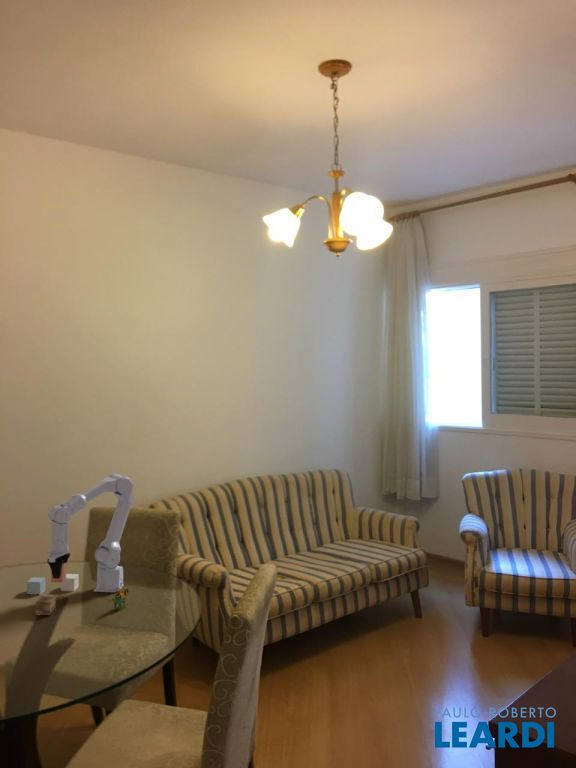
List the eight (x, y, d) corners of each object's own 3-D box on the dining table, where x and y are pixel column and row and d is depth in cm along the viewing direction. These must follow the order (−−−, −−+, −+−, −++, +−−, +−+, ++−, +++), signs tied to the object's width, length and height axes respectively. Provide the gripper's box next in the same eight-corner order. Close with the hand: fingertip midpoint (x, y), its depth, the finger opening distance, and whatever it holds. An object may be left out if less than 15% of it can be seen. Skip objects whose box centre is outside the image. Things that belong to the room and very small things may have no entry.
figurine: (132, 604, 233) (132, 582, 232) (111, 616, 222) (111, 593, 221) (124, 603, 234) (125, 581, 234) (104, 615, 223) (104, 591, 222)
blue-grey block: (45, 590, 245) (45, 577, 244) (40, 595, 240) (40, 582, 239) (32, 590, 245) (32, 577, 244) (26, 595, 240) (27, 581, 239)
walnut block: (55, 610, 225) (55, 596, 225) (50, 616, 220) (50, 602, 220) (41, 610, 226) (41, 596, 225) (35, 616, 221) (35, 601, 220)
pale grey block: (78, 586, 249) (78, 574, 249) (74, 591, 244) (74, 578, 244) (65, 586, 250) (65, 573, 249) (61, 591, 245) (61, 578, 244)
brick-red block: (66, 578, 237) (66, 562, 237) (62, 582, 233) (62, 566, 233) (55, 578, 237) (55, 562, 237) (51, 582, 233) (51, 565, 233)
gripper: (55, 533, 241) (55, 569, 242) (40, 544, 227) (39, 582, 227) (74, 533, 241) (73, 569, 242) (60, 544, 227) (59, 582, 227)
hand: (58, 575), depth 235 cm, fingers closed on brick-red block, 4 cm apart
